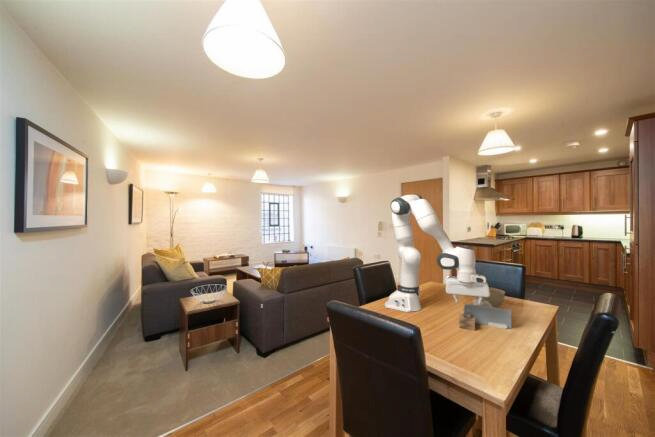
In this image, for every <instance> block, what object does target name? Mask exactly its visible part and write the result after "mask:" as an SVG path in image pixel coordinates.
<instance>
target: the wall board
mask: <svg viewBox="0 0 655 437" xmlns="http://www.w3.org/2000/svg"><path fill="white" fill-rule="evenodd" d="M464 308H470V315H474V317H475V324H480V325H488V327H494V328H497V329H498V328H499V329H512V310H511V309H510V308H504V307H503V308H501V307H499V308H495V307H488V306H480V305H474V304H473V303H472V304H471V303H464Z"/></svg>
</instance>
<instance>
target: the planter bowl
mask: <svg viewBox="0 0 655 437" xmlns="http://www.w3.org/2000/svg"><path fill="white" fill-rule="evenodd" d="M489 291H490V296H489V297H482V300H481V301H482V302H484V301H488V302H489V303H490V304H491V306H492V307H495V308H500V307H501V306H502V305H503V303H504V301H505V295H506V291H504V290H502V289H499V288H496V287H495V288H494V287H489ZM475 298H476V299H479V296H475Z"/></svg>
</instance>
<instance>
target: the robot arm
mask: <svg viewBox="0 0 655 437" xmlns="http://www.w3.org/2000/svg"><path fill="white" fill-rule="evenodd" d="M390 210H391V220H392V221H391V223H392V227H393V232H394V237H395V243H396V250H397V255H398V258H399V259H400V260H401V266H400V272H399V279H400V280H399V281H400V282H399V283H398V284H397V286H396V290H394V292H392V293H390V295H389V297H388V300H387V301H385V303H384V307H385V308H386V309H390V310H391V309H392V310H396V311H399V312H405V313H410V312H418V311H421V310H422V306H421V300H420V286H419V271H420V264H421V261H422V260H421V259H422V255H421V252H420V251H419V250H418V249H417V248H416V247H415V243H414V240H415V239H414V230H413V228H412V223H411V219H410V215H411V214H412V215H413V216H414V218H415V221H416V222H417V224H418V226H419V228H420V229H421V230H422V232H424V233H426V234H428V235H430V236H432V237H434V239H435V241H437V243H438V245H439V247H440V248H441V250H442V252H441V253H439V254H438V256H437V257H436V263H437V265H438V267H439V268H441V269H442V270H446V271H448V270H456V275H453V276H452V275H447V276H446V277H444V283H445V292H446V294H448V295H452V296H453V298H454V300H455V303H460V299H459V298H458V297H457V295H458V296H459V295H461V296H468V297H469V296H471V297H476V296H479V300H478V301H477V300H476V305H480V301H481V300H482V297H489V296H490V291H489V283H488V282H487V277H486V276H485V275H482V274H478V273H477V270H476V255H475V250H474V249H473V248H472V247H470V246H467V245H457V246H456V247H455V246H454V245H453V243H452V241H451V240H450V238H449V236H448V234H447V232H446V231H445V230H444V228H443V225H442V223H441V221H440V219H439V218H438V217H439V216H438V215H437V213H436V211H435V209H434V208H433V207H432V205H431V204H430V202H429V201H428V199H425V198H423V196H422V195H421V194H418V193H417V194H416V193H412V194H405V195H402V196H400V197H396V198H393V200H391V203H390Z"/></svg>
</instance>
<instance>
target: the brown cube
mask: <svg viewBox="0 0 655 437" xmlns="http://www.w3.org/2000/svg"><path fill="white" fill-rule="evenodd" d="M458 320H459V324H458V325H459V329H462V330H463V329H464V330H469V331H473V332H474V331H476V323H475V317H474V315H470V308H465V307H463V313H462V312H459V318H458Z"/></svg>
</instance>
